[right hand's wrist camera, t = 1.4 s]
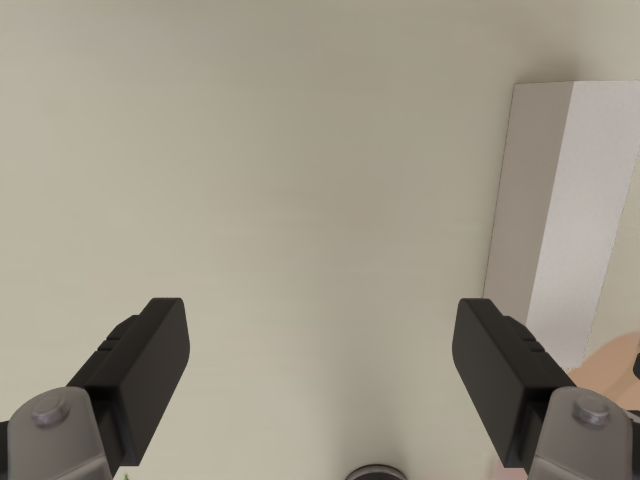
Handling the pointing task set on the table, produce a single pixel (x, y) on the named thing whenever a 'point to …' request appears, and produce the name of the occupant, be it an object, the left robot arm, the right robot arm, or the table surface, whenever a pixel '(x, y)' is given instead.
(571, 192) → the box
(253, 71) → the table surface
